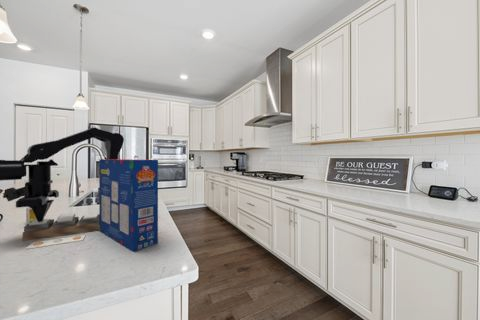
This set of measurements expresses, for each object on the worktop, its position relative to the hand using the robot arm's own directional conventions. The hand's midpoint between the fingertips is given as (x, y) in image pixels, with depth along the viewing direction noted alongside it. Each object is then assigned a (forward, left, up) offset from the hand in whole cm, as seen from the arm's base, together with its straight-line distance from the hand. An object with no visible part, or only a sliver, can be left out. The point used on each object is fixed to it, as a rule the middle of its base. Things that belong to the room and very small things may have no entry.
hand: (40, 221), depth 73 cm
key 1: (0, 0, -2) cm, 2 cm away
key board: (-7, 0, -5) cm, 9 cm away
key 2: (-15, 0, -2) cm, 15 cm away
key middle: (-7, 0, -1) cm, 7 cm away
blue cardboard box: (-28, +16, -6) cm, 32 cm away
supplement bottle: (+8, -22, -6) cm, 24 cm away
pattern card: (-7, +10, -5) cm, 14 cm away
